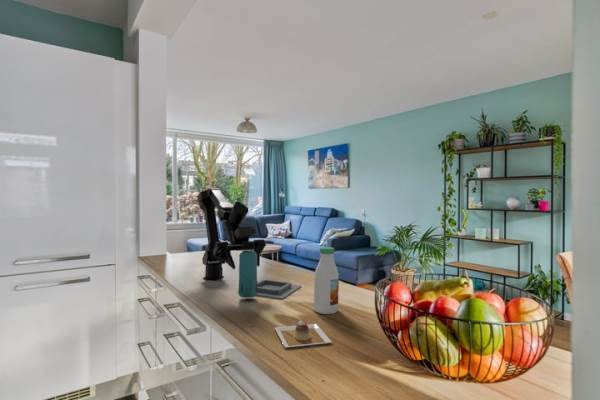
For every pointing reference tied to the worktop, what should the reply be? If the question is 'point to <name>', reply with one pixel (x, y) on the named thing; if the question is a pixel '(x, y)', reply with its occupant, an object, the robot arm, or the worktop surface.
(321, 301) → the milk bottle
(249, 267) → the beverage bottle
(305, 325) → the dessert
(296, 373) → the worktop surface
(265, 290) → the grey square base plate
